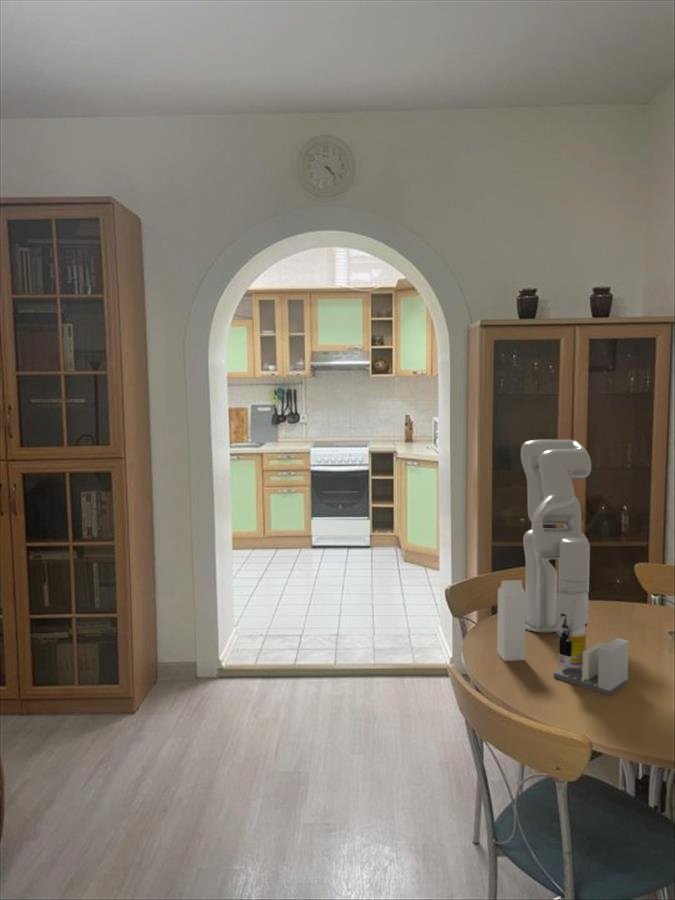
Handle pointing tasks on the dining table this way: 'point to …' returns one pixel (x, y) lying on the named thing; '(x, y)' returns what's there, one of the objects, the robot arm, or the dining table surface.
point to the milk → (511, 621)
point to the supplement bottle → (575, 649)
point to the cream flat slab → (591, 661)
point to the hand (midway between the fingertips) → (572, 650)
